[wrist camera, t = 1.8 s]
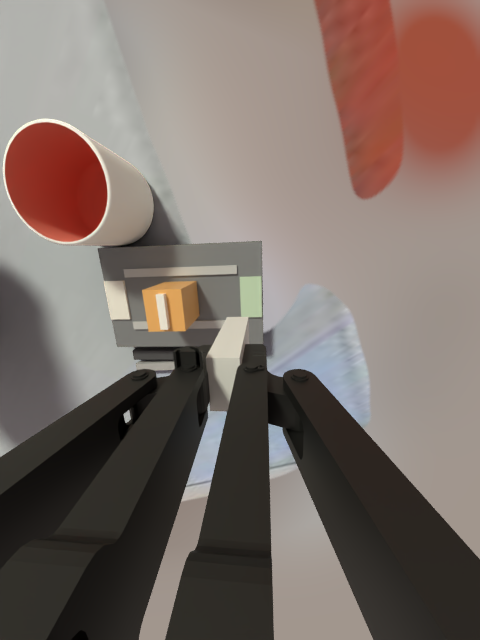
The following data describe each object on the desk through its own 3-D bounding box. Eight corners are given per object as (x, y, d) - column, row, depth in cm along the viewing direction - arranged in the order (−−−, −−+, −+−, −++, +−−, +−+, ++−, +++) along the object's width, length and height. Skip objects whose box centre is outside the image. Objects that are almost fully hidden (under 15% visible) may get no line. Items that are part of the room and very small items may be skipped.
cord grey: (140, 368, 37) (137, 371, 36) (138, 361, 37) (135, 364, 36) (229, 364, 36) (229, 367, 35) (228, 356, 36) (228, 359, 35)
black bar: (138, 356, 37) (134, 359, 36) (136, 347, 36) (132, 350, 35) (242, 355, 35) (242, 359, 34) (242, 347, 35) (241, 350, 34)
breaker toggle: (169, 316, 31) (145, 333, 25) (164, 281, 30) (139, 291, 24) (199, 315, 31) (183, 333, 24) (196, 281, 30) (178, 290, 23)
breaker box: (128, 338, 36) (116, 347, 33) (112, 248, 32) (96, 248, 29) (263, 337, 34) (263, 346, 31) (261, 241, 31) (261, 240, 27)
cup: (138, 260, 33) (87, 265, 23) (71, 219, 32) (-11, 206, 22) (171, 189, 30) (128, 162, 20) (98, 142, 29) (18, 90, 19)
